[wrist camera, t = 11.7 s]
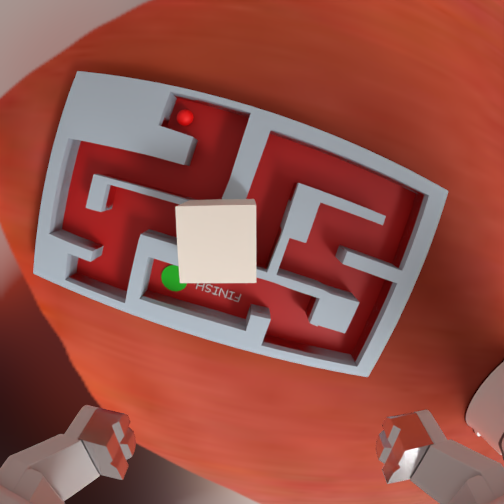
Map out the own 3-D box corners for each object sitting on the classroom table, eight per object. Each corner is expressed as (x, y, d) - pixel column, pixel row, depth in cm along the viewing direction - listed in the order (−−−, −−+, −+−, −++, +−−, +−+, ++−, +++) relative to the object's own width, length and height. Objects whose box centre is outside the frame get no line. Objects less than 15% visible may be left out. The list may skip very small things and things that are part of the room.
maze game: (430, 188, 27) (448, 191, 24) (358, 360, 31) (367, 377, 28) (92, 79, 24) (77, 71, 21) (49, 264, 28) (33, 273, 25)
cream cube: (254, 198, 24) (256, 204, 19) (254, 261, 25) (256, 282, 20) (189, 200, 24) (175, 206, 19) (192, 262, 25) (179, 283, 20)
